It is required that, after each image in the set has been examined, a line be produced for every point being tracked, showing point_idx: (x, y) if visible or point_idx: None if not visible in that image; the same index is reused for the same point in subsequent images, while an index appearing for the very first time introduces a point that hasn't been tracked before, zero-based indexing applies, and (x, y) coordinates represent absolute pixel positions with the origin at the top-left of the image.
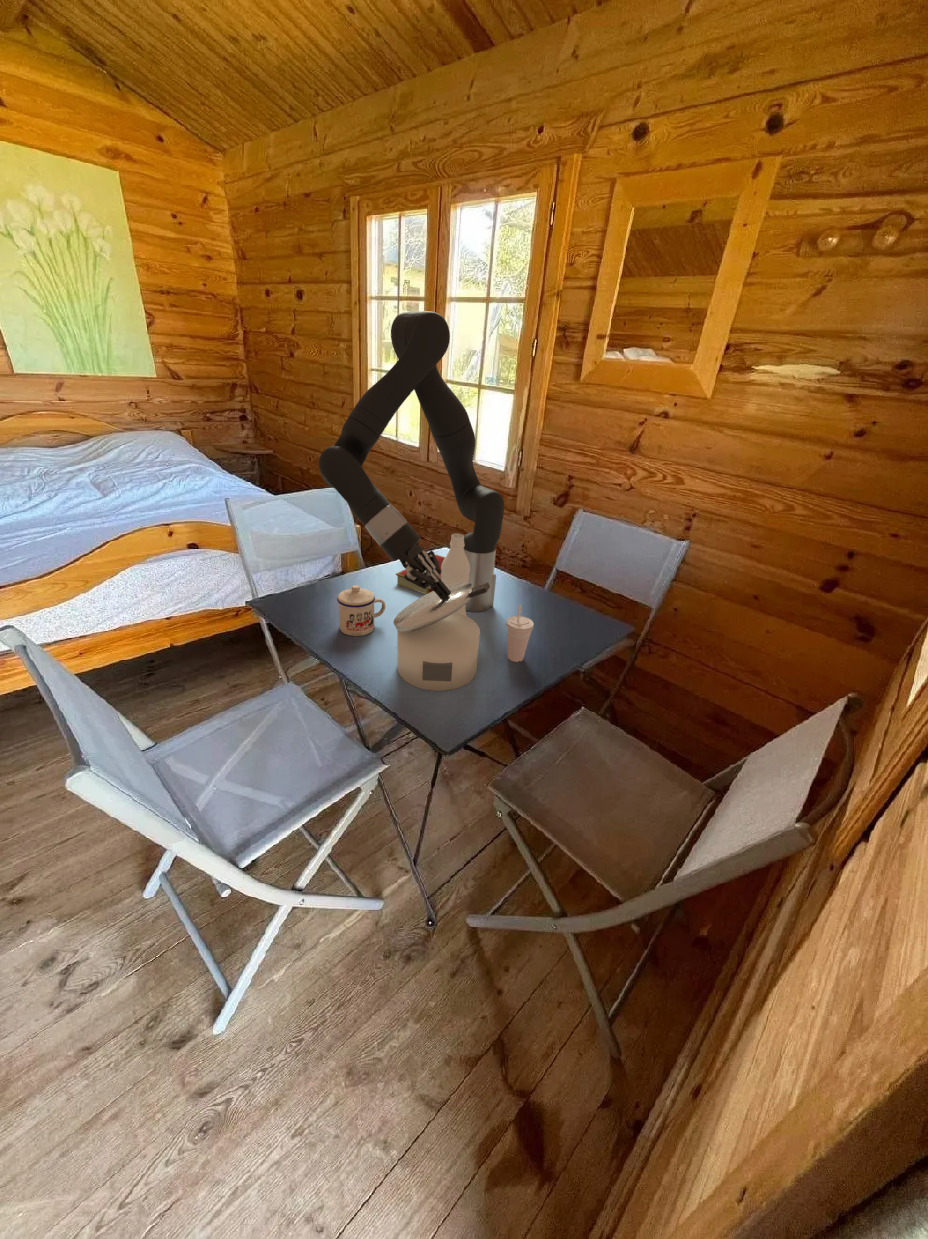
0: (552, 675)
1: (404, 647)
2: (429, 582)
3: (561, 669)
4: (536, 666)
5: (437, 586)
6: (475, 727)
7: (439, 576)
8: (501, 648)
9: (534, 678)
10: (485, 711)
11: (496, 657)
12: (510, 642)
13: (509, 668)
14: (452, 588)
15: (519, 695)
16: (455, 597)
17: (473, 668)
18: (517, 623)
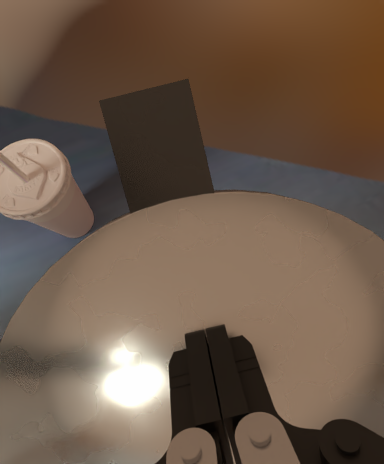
0: (104, 132)
1: None
2: (378, 444)
3: (73, 126)
4: (88, 169)
5: (271, 399)
6: (356, 178)
7: (194, 444)
8: (51, 265)
9: None
10: (299, 185)
11: None
12: (77, 209)
13: (126, 212)
14: (73, 390)
15: (208, 155)
16: (243, 266)
17: None
18: (38, 175)
